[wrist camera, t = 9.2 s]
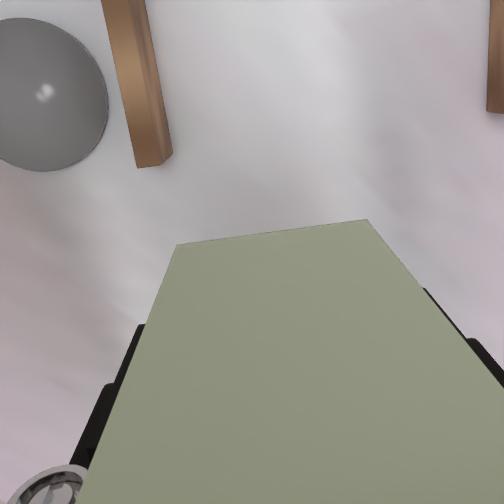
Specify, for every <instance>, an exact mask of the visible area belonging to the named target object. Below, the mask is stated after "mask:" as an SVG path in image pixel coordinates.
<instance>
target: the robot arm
mask: <svg viewBox="0 0 504 504" xmlns="http://www.w3.org/2000/svg"><path fill="white" fill-rule="evenodd" d="M423 290H424V291H425V292H426V293H427V294H428V296H429V297H430V298H431V299H432V301H433V302H434V303H435V304H436V306H437V307H438V308H439V309H440V311H441V312H442V313H443V314H444V315H445V317H446V318H447V319H448V320H449V322H450V323H451V324H452V325H453V327H454V328H455V329H456V330H457V332H458V333H459V334H460V335H461V336H462V338H463V339H464V340H465V341H466V343H467V344H468V345H469V346H470V348H471V349H472V350H473V351H474V353H475V354H476V355H477V356H478V357H479V359H480V360H481V361H482V362H483V364H484V365H485V366H486V367H487V369H488V370H489V371H490V372H491V374H492V375H493V376H494V377H495V378H496V380H497V381H498V382H499V383H500V385H501V386H502V387H503V388H504V371H503V369H502V368H501V367H500V366H499V365H498V364H497V362H496V361H495V360H494V359H493V358H492V357H491V355H490V354H489V353H488V352H487V351H486V349H485V348H484V347H483V346H482V345H481V344H480V342H478V341H477V340H476V339H474V338H467V339H466V337H465V336H464V335H463V334H462V333H461V331H460V330H459V329H458V328H457V327H456V325H455V324H454V323H453V322H452V320H451V319H450V318H449V317H448V316H447V314H446V313H445V312H444V311H443V309H442V308H441V307H440V306H439V305H438V303H437V302H436V301H435V300H434V298H433V297H432V296H431V295H430V294H429V292H428V291H427V290H426V289H425V288H423ZM144 327H145V324H141V325H138V327H137V329H136V331H135V334H134V336H133V338H132V341H131V343H130V346H129V348H128V350H127V353H126V355H125V357H124V360H123V362H122V365H121V367H120V369H119V372H118V374H117V376H116V379H115V381H114V383H109V384H106V385H105V386H104V388H103V389H102V391H101V394H100V396H99V398H98V400H97V402H96V405H95V407H94V409H93V411H92V414H91V416H90V418H89V420H88V423H87V425H86V427H85V429H84V431H83V434H82V436H81V438H80V440H79V443H78V445H77V447H76V449H75V452H74V454H73V456H72V458H71V460H70V463H69V465H67V464H66V465H61V466H56V467H52V468H50V469H47V470H45V471H43V472H40V473H39V474H37V475H35V476H34V477H32V478H31V479H29V480H27V481H26V482H25V483H24V484H23V485H22V486H21V487H20V488H18V489H17V490H16V492H15V493H14V494H13V496H12V497H11V498H10V499H9V501H8V503H7V504H75V502H76V499H77V497H78V494H79V492H80V489H81V487H82V484H83V482H84V479H85V477H86V474H87V471H88V469H89V466H90V464H91V461H92V459H93V456H94V454H95V451H96V449H97V446H98V444H99V441H100V438H101V436H102V433H103V431H104V428H105V426H106V423H107V421H108V418H109V416H110V413H111V411H112V408H113V406H114V403H115V400H116V398H117V395H118V393H119V390H120V388H121V385H122V383H123V380H124V378H125V375H126V373H127V370H128V367H129V365H130V362H131V360H132V357H133V355H134V352H135V350H136V347H137V345H138V342H139V340H140V337H141V335H142V332H143V329H144Z"/></svg>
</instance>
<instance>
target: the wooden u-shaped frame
mask: <svg viewBox="0 0 504 504" xmlns="http://www.w3.org/2000/svg"><path fill="white" fill-rule="evenodd" d="M101 2H102V7H103V12H104V16H105V21H106V26H107V30H108V35H109V40H110V44H111V49H112V54H113V58H114V63H115V68H116V72H117V77H118V81H119V86H120V91H121V95H122V100H123V105H124V109H125V114H126V119H127V123H128V128H129V133H130V137H131V142H132V146H133V151H134V156H135V160H136V165H137V168H145V167H152V166H160V165H161V164H163V163H164V162H165V161H166V160H167V159H168V158H169V157H170V156H171V155H172V154H173V151H172V146H171V140H170V135H169V130H168V124H167V119H166V114H165V108H164V103H163V98H162V92H161V87H160V82H159V76H158V71H157V66H156V60H155V55H154V50H153V44H152V39H151V34H150V28H149V23H148V18H147V12H146V7H145V2H144V0H101ZM487 111H489V112H496V113H502V114H504V0H491V3H490V31H489V58H488V86H487Z"/></svg>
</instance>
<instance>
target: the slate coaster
mask: <svg viewBox="0 0 504 504" xmlns="http://www.w3.org/2000/svg"><path fill="white" fill-rule="evenodd" d="M107 117H108V96H107V89H106V85H105V82H104V78H103V76H102V74H101V71H100V69H99V67H98V65H97V64H96V62H95V60H94V59H93V57H92V56H91V54H90V53H89V52H88V50H87V49H86V48H85V47H84V46H83V45H82V44H81V43H80V42H79V41H78V40H77V39H75V38H74V37H73V36H72V35H70V34H69V33H67V32H66V31H64V30H62V29H60V28H58V27H56V26H55V25H52V24H49V23H46V22H43V21H39V20H34V19H29V18H11V19H6V20H1V21H0V158H1V159H2V160H4V161H6V162H7V163H10V164H12V165H14V166H17V167H20V168H23V169H27V170H32V171H53V170H58V169H62V168H65V167H68V166H70V165H72V164H74V163H76V162H78V161H80V160H81V159H82V158H84V157H85V156H86V155H88V154H89V153H90V152H91V151H92V150H93V148H94V147H95V146H96V144H97V143H98V142H99V140H100V138H101V136H102V134H103V131H104V129H105V126H106V121H107Z"/></svg>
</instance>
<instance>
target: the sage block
mask: <svg viewBox="0 0 504 504" xmlns="http://www.w3.org/2000/svg"><path fill="white" fill-rule="evenodd" d="M75 504H504V388H503V387H502V386H501V385H500V383H499V382H498V381H497V380H496V378H495V377H494V376H493V375H492V374H491V372H490V371H489V370H488V369H487V367H486V366H485V365H484V364H483V362H482V361H481V360H480V359H479V357H478V356H477V355H476V354H475V353H474V351H473V350H472V349H471V348H470V346H469V345H468V344H467V343H466V341H465V340H464V339H463V338H462V336H461V335H460V334H459V333H458V332H457V330H456V329H455V328H454V327H453V325H452V324H451V323H450V322H449V320H448V319H447V318H446V317H445V315H444V314H443V313H442V312H441V311H440V309H439V308H438V307H437V306H436V304H435V303H434V302H433V301H432V299H431V298H430V297H429V296H428V294H427V293H426V292H425V291H424V290H423V288H422V287H421V286H420V285H419V283H418V282H417V281H416V280H415V278H414V277H413V276H412V275H411V273H410V272H409V271H408V270H407V269H406V267H405V266H404V265H403V264H402V262H401V261H400V260H399V259H398V257H397V256H396V255H395V254H394V252H393V251H392V250H391V249H390V248H389V246H388V245H387V244H386V243H385V241H384V240H383V239H382V238H381V236H380V235H379V234H378V233H377V231H376V230H375V229H374V228H373V227H372V225H371V224H370V223H369V222H368V220H367V219H364V220H356V221H349V222H341V223H334V224H327V225H319V226H312V227H305V228H297V229H290V230H282V231H275V232H268V233H260V234H253V235H246V236H238V237H231V238H223V239H216V240H209V241H201V242H194V243H186V244H179V245H177V246H176V248H175V251H174V253H173V256H172V258H171V261H170V263H169V266H168V269H167V271H166V274H165V276H164V279H163V281H162V284H161V286H160V289H159V291H158V294H157V296H156V299H155V302H154V304H153V307H152V309H151V312H150V314H149V317H148V319H147V322H146V324H145V327H144V329H143V332H142V335H141V337H140V340H139V342H138V345H137V347H136V350H135V352H134V355H133V357H132V360H131V362H130V365H129V367H128V370H127V373H126V375H125V378H124V380H123V383H122V385H121V388H120V390H119V393H118V395H117V398H116V400H115V403H114V406H113V408H112V411H111V413H110V416H109V418H108V421H107V423H106V426H105V428H104V431H103V433H102V436H101V438H100V441H99V444H98V446H97V449H96V451H95V454H94V456H93V459H92V461H91V464H90V466H89V469H88V471H87V474H86V477H85V479H84V482H83V484H82V487H81V489H80V492H79V494H78V497H77V499H76V502H75Z"/></svg>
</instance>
